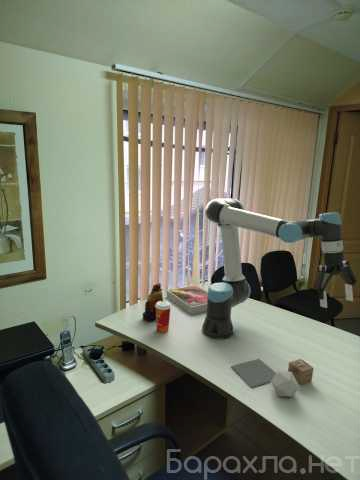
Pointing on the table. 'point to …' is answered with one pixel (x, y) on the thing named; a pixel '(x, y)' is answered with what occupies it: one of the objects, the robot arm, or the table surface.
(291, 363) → the letter block
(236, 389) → the table surface
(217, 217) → the robot arm
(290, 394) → the die
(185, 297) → the product packaging
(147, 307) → the statue
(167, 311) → the paper cup
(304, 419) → the table surface
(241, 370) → the grey mat
